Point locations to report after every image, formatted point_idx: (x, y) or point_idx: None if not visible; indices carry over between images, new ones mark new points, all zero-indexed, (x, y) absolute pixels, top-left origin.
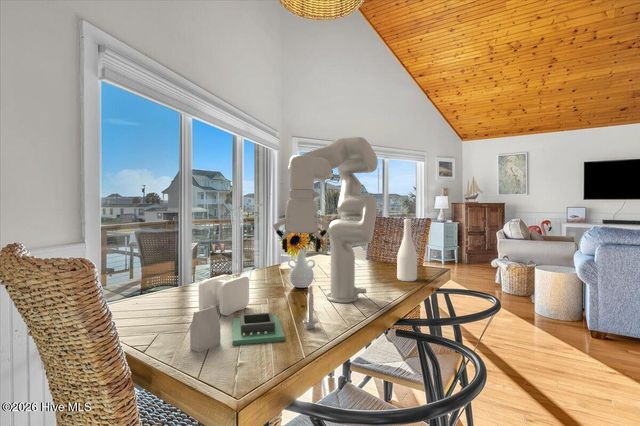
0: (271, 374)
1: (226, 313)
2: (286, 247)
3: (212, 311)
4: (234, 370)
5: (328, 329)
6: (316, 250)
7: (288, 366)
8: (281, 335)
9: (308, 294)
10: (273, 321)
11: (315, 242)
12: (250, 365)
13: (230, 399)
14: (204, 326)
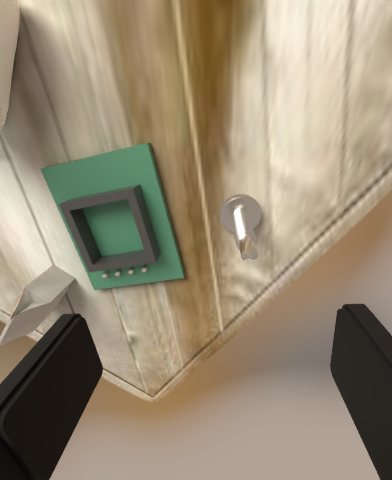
0: (178, 364)
1: (2, 122)
2: (82, 408)
3: (19, 318)
4: (130, 352)
5: (282, 222)
6: (335, 380)
7: (199, 350)
8: (177, 274)
9: (239, 249)
10: (151, 254)
11: (383, 401)
12: (146, 343)
13: (145, 396)
14: (35, 325)
